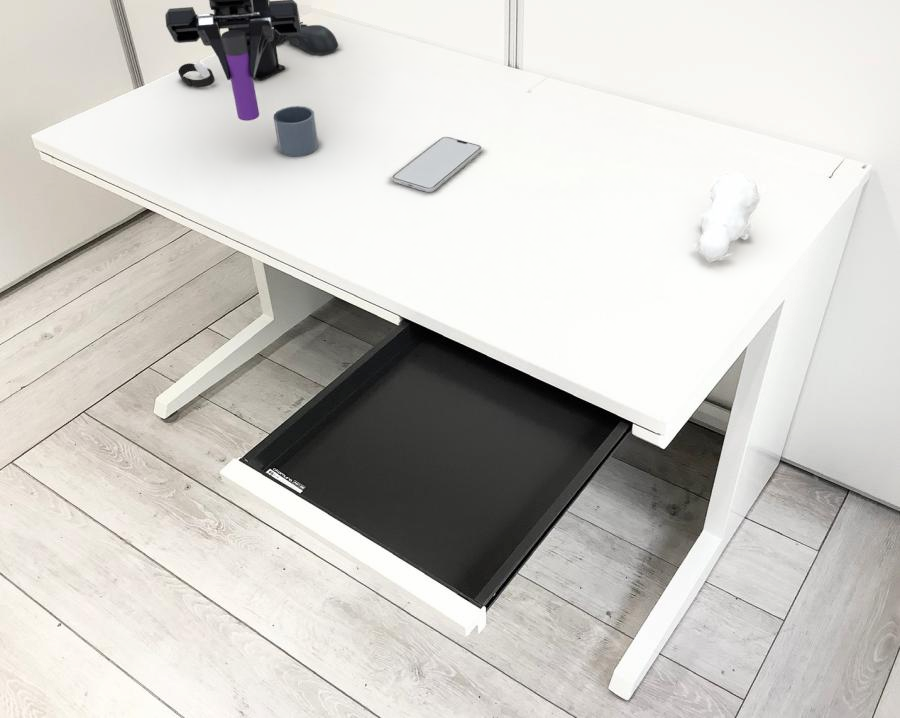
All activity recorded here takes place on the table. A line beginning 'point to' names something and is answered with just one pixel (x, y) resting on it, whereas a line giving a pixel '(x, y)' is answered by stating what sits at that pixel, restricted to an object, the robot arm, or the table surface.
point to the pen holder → (296, 131)
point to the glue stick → (240, 74)
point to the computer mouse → (313, 39)
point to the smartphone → (437, 164)
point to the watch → (199, 68)
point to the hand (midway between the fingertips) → (240, 78)
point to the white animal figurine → (727, 215)
